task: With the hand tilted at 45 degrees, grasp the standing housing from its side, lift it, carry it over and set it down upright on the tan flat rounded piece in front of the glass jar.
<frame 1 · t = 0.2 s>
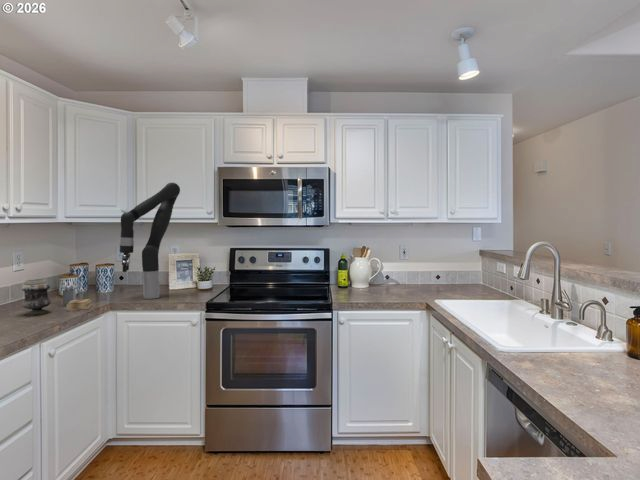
hand: (125, 271, 224), 18 cm above the worktop, tool pointing down, fingers open, 8 cm apart
tan flat rounded piece: (79, 308, 203), on the worktop
housing: (69, 305, 210), on the worktop
apothecary jar: (37, 313, 192), on the worktop
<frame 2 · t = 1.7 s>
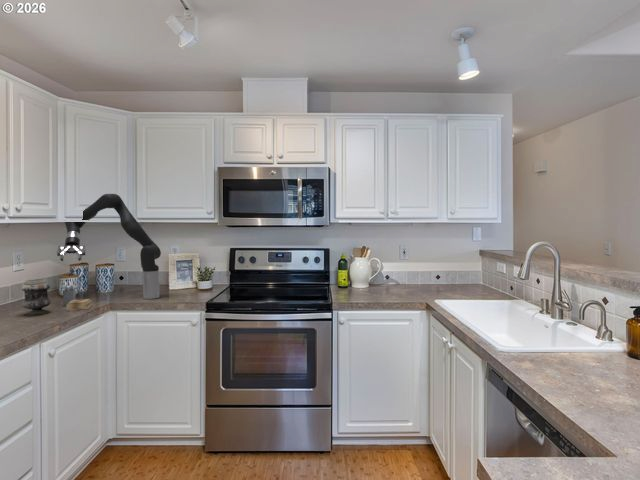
hand: (70, 260, 219), 25 cm above the worktop, tool tilted 45°, fingers open, 8 cm apart
nothing on the worktop moved.
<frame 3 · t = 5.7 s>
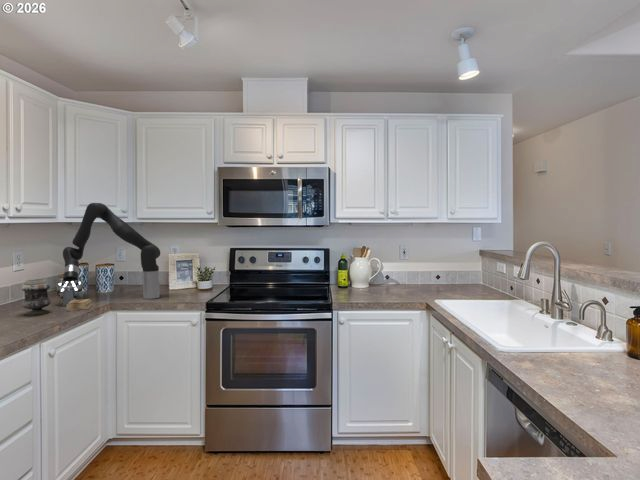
hand: (68, 297, 209), 5 cm above the worktop, tool tilted 45°, fingers closed on housing, 5 cm apart
housing: (69, 305, 210), on the worktop, touching gripper
everything else where it was.
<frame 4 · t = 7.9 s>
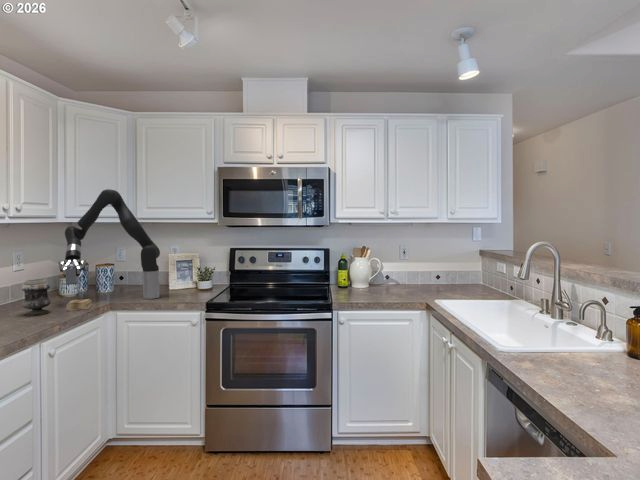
hand: (71, 275, 206), 18 cm above the worktop, tool tilted 45°, fingers closed on housing, 5 cm apart
housing: (72, 283, 208), point 13 cm above the worktop, touching gripper
everything else where it was.
when the fingers open (10 cm above the worktop, at t = 10.4 s): housing drops 1 cm, resting on tan flat rounded piece.
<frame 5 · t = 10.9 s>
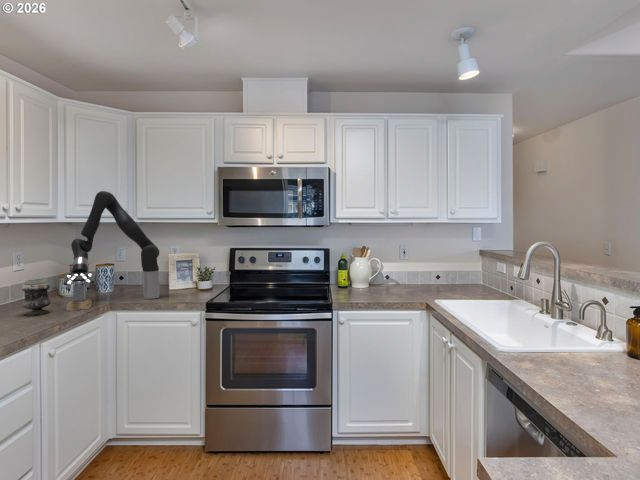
hand: (78, 289, 201), 11 cm above the worktop, tool tilted 45°, fingers open, 8 cm apart
housing: (79, 301, 203), point 4 cm above the worktop, touching tan flat rounded piece
everything else where it was.
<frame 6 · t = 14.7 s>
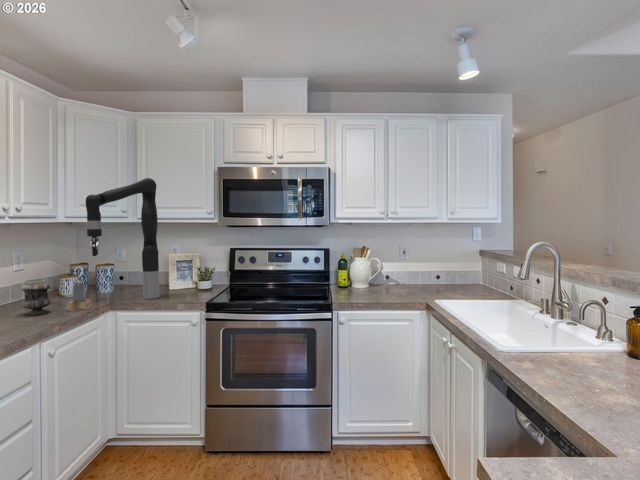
hand: (95, 255, 218), 28 cm above the worktop, tool pointing down, fingers open, 8 cm apart
nothing on the worktop moved.
at the end: housing inside the target area on the tan flat rounded piece (0.2 cm from its centre), point 4.0 cm above the tan flat rounded piece's base; housing tilted 0°; the gripper is holding nothing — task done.
